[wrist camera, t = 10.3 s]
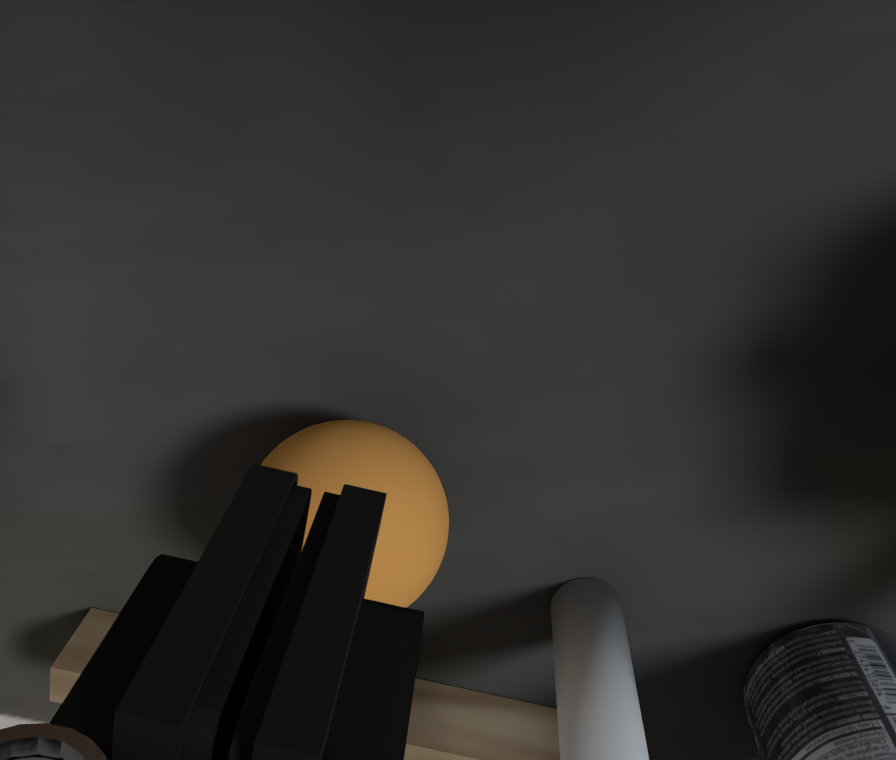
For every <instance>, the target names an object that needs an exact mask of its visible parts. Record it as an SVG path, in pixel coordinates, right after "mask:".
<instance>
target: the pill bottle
mask: <svg viewBox="0 0 896 760" xmlns="http://www.w3.org/2000/svg"><path fill="white" fill-rule="evenodd" d="M743 699H744V705H745V710H746V714H747V718H748V721H749V724H750V726H751V729H752V732H753V735H754V738H755V742H756V745H757V748H758V752H759V755H760V758H761V760H896V639H895V638H894V637H892V636H890V635H888V634H887V633H885V632H883V631H880V630H878V629H875V628H873V627H870V626H866V625H862V624H856V623H842V622H835V623H825V624H819V625H814V626H810V627H806V628H803V629H800V630H797V631H795V632H792V633H790V634H788V635H786V636H784V637H782V638H780V639H779V640H777V641H776V642H774V643H773V644H771V645H770V646H769V647H768V648H767V649H766V650H765V651H764V652H763V653H762V654H761V655H760V656H759V657H758V658H757V659H756V661H755V662H754V664H753V665H752V667H751V669H750V671H749V673H748V675H747V678H746V680H745V686H744V694H743Z"/></svg>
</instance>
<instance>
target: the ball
mask: <svg viewBox="0 0 896 760" xmlns="http://www.w3.org/2000/svg"><path fill="white" fill-rule="evenodd" d="M261 465H262V466H266V467H271V468H275V469H280V470H284V471H289V472H293V473H297V474H298V484H297V485H298V486H302V487H307V488H311V489H312V494H311V501H310V506H309V512H308V518H307V524H306V529H305V535H304V541H303V546H304V544H305V541H306V539H307V536H308V533H309V531H310V528H311V525H312V523H313V520H314V518H315V515H316V512H317V510H318V507H319V504H320V502H321V499H322V497H323V494H324V492H329V493H334V494H338V495H340V494H341V491H342V488H343V486H344V484H347V485H352V486H356V487H361V488H365V489H370V490H374V491H379V492H383V493H387V496H386V501H385V505H384V510H383V514H382V519H381V524H380V528H379V533H378V537H377V542H376V546H375V551H374V555H373V560H372V565H371V569H370V574H369V578H368V583H367V587H366V592H365V597H364V599H369V600H373V601H378V602H382V603H387V604H391V605H396V606H400V607H405V608H407V607H408V606H409V605H410V604H412V603H413V602H414V601H415V600H417V598H418V597H419V596H420V595H421V594H422V593H423V592H424V590H425V589H426V588H427V587H428V586H429V584H430V583H431V581H432V579H433V578H434V576H435V574H436V572H437V571H438V569H439V566H440V564H441V562H442V559H443V556H444V553H445V549H446V545H447V541H448V529H449V514H448V505H447V500H446V496H445V492H444V489H443V487H442V484H441V482H440V479H439V477H438V475H437V473H436V471H435V470H434V468H433V466H432V465H431V463H430V462H429V461H428V460H427V458H426V457H425V456H424V454H423V453H422V452H421V451H420V450H419V449H418V448H417V447H416V446H415V445H414V444H412V443H411V442H410V441H409V440H407V439H406V438H405V437H403V436H401V435H400V434H398V433H396V432H395V431H392V430H390V429H388V428H386V427H383V426H380V425H378V424H375V423H370V422H366V421H359V420H334V421H328V422H324V423H320V424H316V425H312V426H310V427H307V428H305V429H303V430H301V431H299V432H297V433H295V434H294V435H292V436H290V437H288V438H287V439H285V440H284V441H283V442H282V443H280V444H279V445H278V446H277V447H276V448H275V449H274V450H272V452H271V453H270V454H269V455H268V456H267V457H266V458H265V459H264V461H263V462H262V463H261ZM303 546H302V549H303Z"/></svg>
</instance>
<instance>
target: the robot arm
mask: <svg viewBox="0 0 896 760" xmlns="http://www.w3.org/2000/svg"><path fill="white" fill-rule="evenodd" d="M297 484H298V474H297V473H293V472H289V471H284V470H280V469H275V468H271V467H266V466H262V465H257V464H253V465H252V467H251V468H250V470H249V472H248V473H247V475H246V477H245V479H244V481H243V482H242V484H241V486H240V488H239V490H238V491H237V493H236V495H235V497H234V499H233V500H232V502H231V504H230V506H229V508H228V509H227V511H226V513H225V515H224V517H223V518H222V520H221V522H220V524H219V526H218V527H217V529H216V531H215V533H214V535H213V536H212V538H211V540H210V542H209V543H208V545H207V547H206V549H205V551H204V552H203V554H202V556H201V558H200V560H199V561H198V562H195V561H191V560H186V559H182V558H177V557H173V556H168V555H164V554H161V555H160V556H158V557H156V559H155V560H154V561H153V562H152V564H151V565H150V566H149V568H148V570H147V571H146V573H145V574H144V576H143V577H142V579H141V581H140V582H139V584H138V585H137V587H136V588H135V590H134V592H133V593H132V595H131V596H130V598H129V599H128V601H127V603H126V604H125V606H124V607H123V609H122V610H121V612H120V614H119V615H118V617H117V618H116V620H115V621H114V623H113V624H112V626H111V628H110V629H109V631H108V632H107V634H106V635H105V637H104V639H103V640H102V642H101V643H100V645H99V646H98V648H97V650H96V651H95V653H94V654H93V656H92V657H91V659H90V661H89V662H88V664H87V665H86V667H85V668H84V670H83V672H82V673H81V675H80V676H79V678H78V679H77V681H76V682H75V684H74V686H73V687H72V689H71V690H70V692H69V693H68V695H67V697H66V698H65V700H64V701H63V703H62V704H61V706H60V708H59V709H58V711H57V712H56V714H55V715H54V717H53V719H52V720H51V722H50V723H49V724H48V723H44V724H21V725H16V726H12V727H9V728H5V729H1V730H0V760H404V755H405V748H406V741H407V734H408V727H409V720H410V713H411V706H412V699H413V692H414V685H415V678H416V671H417V664H418V657H419V650H420V643H421V636H422V629H423V621H424V612H423V611H419V610H414V609H410V608H405V607H400V606H396V605H391V604H387V603H382V602H378V601H373V600H369V599H364V597H365V592H366V587H367V583H368V578H369V574H370V569H371V565H372V560H373V555H374V551H375V546H376V542H377V537H378V533H379V528H380V524H381V519H382V514H383V510H384V505H385V501H386V496H387V493H383V492H379V491H374V490H370V489H365V488H361V487H356V486H352V485H347V484H344V486H343V488H342V491H341V494H340V495H338V494H334V493H329V492H324V494H323V497H322V499H321V502H320V504H319V507H318V510H317V512H316V515H315V518H314V520H313V523H312V525H311V528H310V531H309V533H308V536H307V539H306V541H305V544H304V546H303V541H304V535H305V529H306V524H307V518H308V512H309V506H310V501H311V494H312V489H311V488H307V487H302V486H298V485H297ZM302 546H303V549H302Z"/></svg>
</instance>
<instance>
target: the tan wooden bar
mask: <svg viewBox="0 0 896 760" xmlns="http://www.w3.org/2000/svg"><path fill="white" fill-rule="evenodd" d="M118 615H119V614H118V613H114V612H109V611H105V610H100V609H95V608H91V609H90V611H89V612H88V614H87V615H86V617H85V618H84V619H83V621H82V622H81V624H80V625H79V627H78V628H77V630H76V631H75V632H74V634H73V635H72V637H71V638H70V640H69V641H68V643H67V644H66V646H65V647H64V648H63V650H62V651H61V653H60V654H59V656H58V657H57V659H56V660H55V661H54V663H53V664H52V666H51V667H50V701H54V702H59V703H63V701H64V700H65V698H66V697H67V695H68V693H69V692H70V690H71V689H72V687H73V686H74V684H75V682H76V681H77V679H78V678H79V676H80V675H81V673H82V672H83V670H84V668H85V667H86V665H87V664H88V662H89V661H90V659H91V657H92V656H93V654H94V653H95V651H96V650H97V648H98V646H99V645H100V643H101V642H102V640H103V639H104V637H105V635H106V634H107V632H108V631H109V629H110V628H111V626H112V624H113V623H114V621H115V620H116V618H117V617H118ZM404 760H560V749H559V733H558V717H557V709H555V708H551V707H546V706H542V705H537V704H532V703H528V702H523V701H519V700H514V699H509V698H505V697H500V696H496V695H491V694H486V693H482V692H477V691H473V690H468V689H463V688H459V687H454V686H450V685H445V684H440V683H436V682H431V681H427V680H422V679H417V678H415V685H414V692H413V699H412V706H411V713H410V720H409V727H408V734H407V741H406V748H405V755H404Z"/></svg>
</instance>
